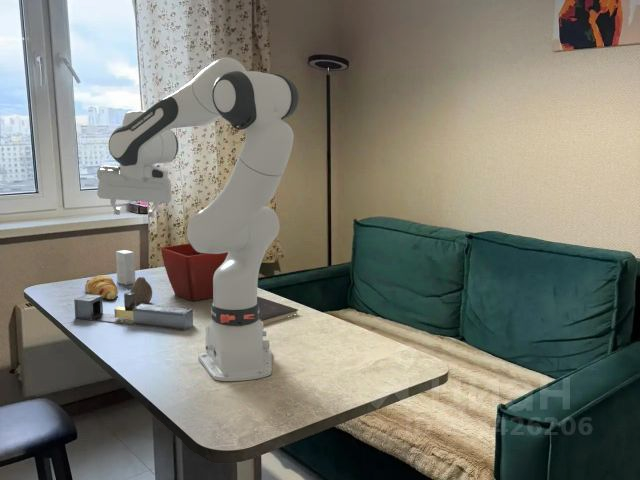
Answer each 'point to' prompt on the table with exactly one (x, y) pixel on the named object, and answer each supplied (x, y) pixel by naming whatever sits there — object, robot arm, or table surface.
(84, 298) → the guide
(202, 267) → the plant pot
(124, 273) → the skincare box
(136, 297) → the vase
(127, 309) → the sliding bolt
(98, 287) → the croissant
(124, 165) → the robot arm
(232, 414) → the table surface
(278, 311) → the hardcover book
